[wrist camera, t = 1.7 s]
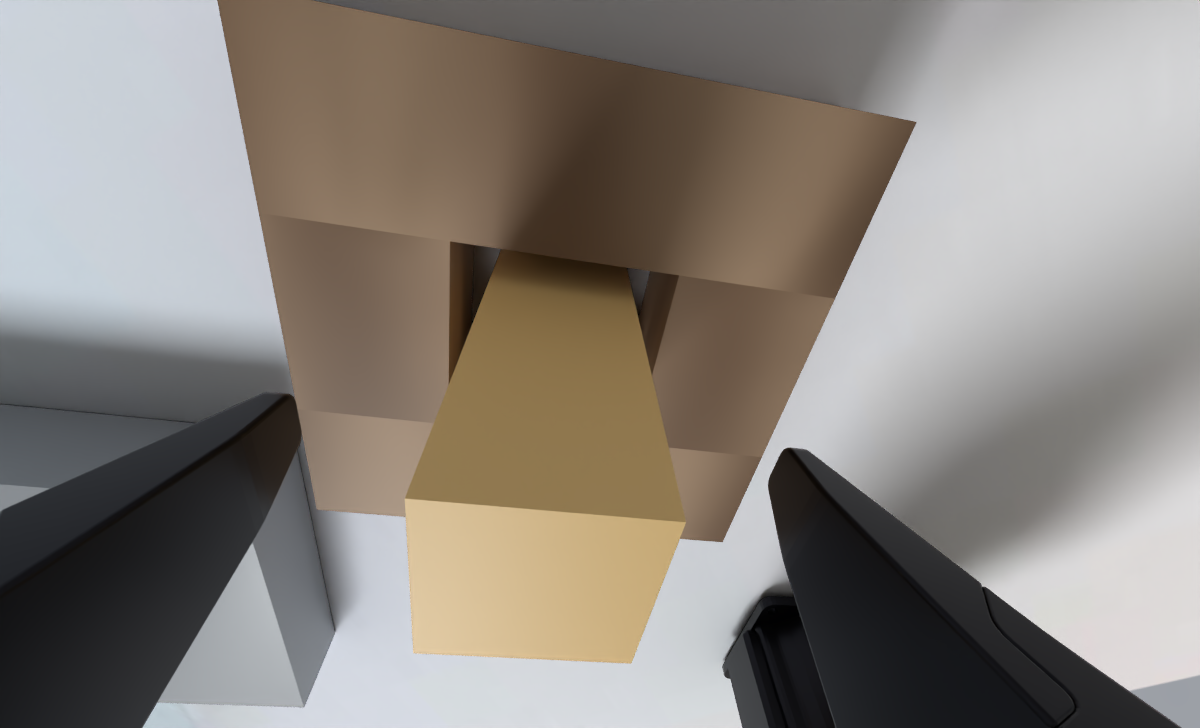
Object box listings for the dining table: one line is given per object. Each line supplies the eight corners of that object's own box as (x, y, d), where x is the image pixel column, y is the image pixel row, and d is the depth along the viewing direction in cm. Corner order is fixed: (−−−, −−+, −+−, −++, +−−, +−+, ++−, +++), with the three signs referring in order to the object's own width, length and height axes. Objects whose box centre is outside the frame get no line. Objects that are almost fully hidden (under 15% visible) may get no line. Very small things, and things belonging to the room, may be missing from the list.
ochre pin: (623, 256, 13) (686, 522, 6) (603, 355, 15) (631, 663, 7) (505, 238, 13) (404, 498, 5) (498, 341, 15) (413, 652, 7)
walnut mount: (841, 106, 12) (916, 122, 9) (701, 472, 18) (722, 541, 15) (304, -2, 10) (213, -20, 8) (357, 438, 16) (316, 509, 14)
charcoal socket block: (293, 432, 16) (240, 503, 14) (334, 633, 22) (303, 707, 20) (-134, 391, 15) (-282, 461, 12) (38, 618, 21) (-36, 696, 18)
